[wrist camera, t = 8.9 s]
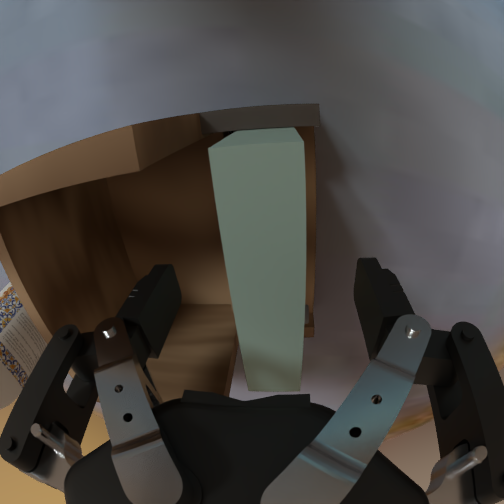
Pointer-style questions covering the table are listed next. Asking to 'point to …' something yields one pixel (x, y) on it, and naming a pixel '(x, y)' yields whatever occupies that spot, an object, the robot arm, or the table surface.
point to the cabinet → (140, 234)
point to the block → (264, 249)
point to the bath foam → (16, 346)
